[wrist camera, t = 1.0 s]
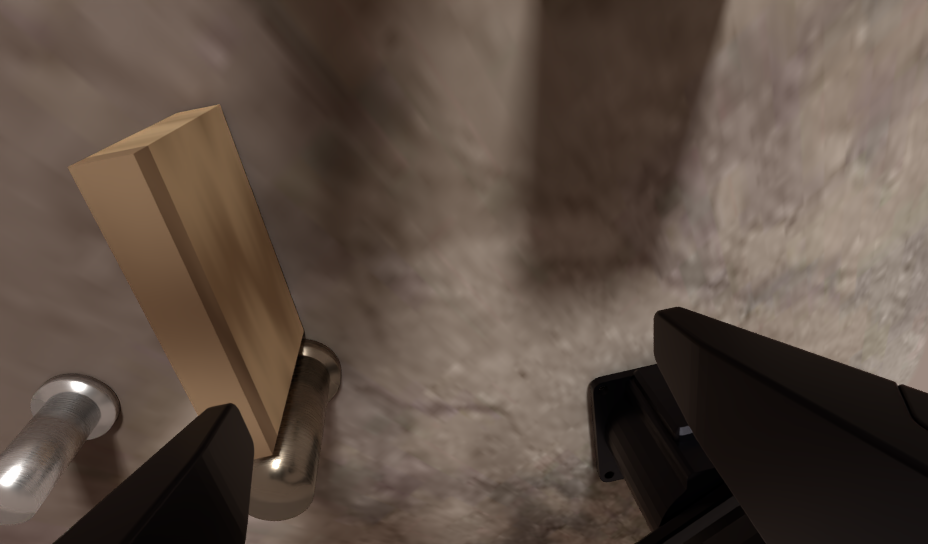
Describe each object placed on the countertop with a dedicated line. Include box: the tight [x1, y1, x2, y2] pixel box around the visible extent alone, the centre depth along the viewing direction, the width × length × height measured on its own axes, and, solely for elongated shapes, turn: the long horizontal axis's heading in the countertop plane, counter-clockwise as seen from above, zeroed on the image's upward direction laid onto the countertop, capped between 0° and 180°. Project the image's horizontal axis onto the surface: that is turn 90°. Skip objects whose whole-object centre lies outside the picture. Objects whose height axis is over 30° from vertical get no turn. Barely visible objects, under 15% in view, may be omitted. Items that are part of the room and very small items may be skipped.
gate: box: [68, 104, 304, 459], centre depth 17 cm, size 9×1×7 cm, turn 10°
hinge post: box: [249, 339, 341, 521], centre depth 20 cm, size 3×3×6 cm
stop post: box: [0, 374, 120, 525], centre depth 20 cm, size 3×3×5 cm
